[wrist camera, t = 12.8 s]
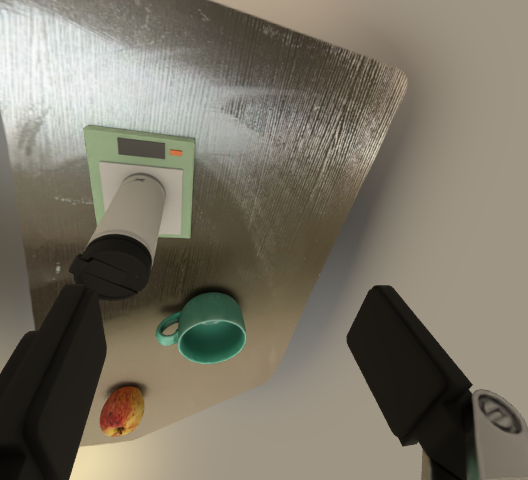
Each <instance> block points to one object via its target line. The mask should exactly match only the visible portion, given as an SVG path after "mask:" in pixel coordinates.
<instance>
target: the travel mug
mask: <svg viewBox="0 0 528 480" xmlns="http://www.w3.org/2000/svg"><path fill="white" fill-rule="evenodd" d="M165 199H166V192H165V189H164V187H163V185H162V183H161V182H160V181H159V180H158V179H156V178H155V177H153V176H151V175H148V174H144V173H136V174H132V175H130V176H128V177H126V178H125V179H124V180H123V182H122V184H121V185H120V187H119V189H118V191H117V193H116V194H115V196H114V198H113V200H112V201H111V203H110V205H109V207H108V209H107V210H106V212H105V214H104V216H103V218H102V219H101V221H100V223H99V225H98V227H97V228H96V230H95V232H94V234H93V235H92V237H91V239H90V241H89V243H88V244H87V246H86V248H85V251H84V253H83V255H82V254H79V255H77V256H76V258H75V259H74V260H73V262H72V263H71V266H70V268H69V272H70V273H72V274H74V280H75V283H76V284H89V285H90V288H91V289H96V290H97V293H98V299H101V300H110V301H112V300H123V299H127V298H130V297H132V296H134V295H135V294H137V292H139V291H141V290H142V289H143V288H144V287H145V286H146V284H147V283H148V280H149V276H150V272H151V268H152V265H153V260H154V255H155V250H156V245H157V240H158V235H159V230H160V225H161V220H162V214H163V209H164V204H165ZM81 256H82V257H81Z"/></svg>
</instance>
